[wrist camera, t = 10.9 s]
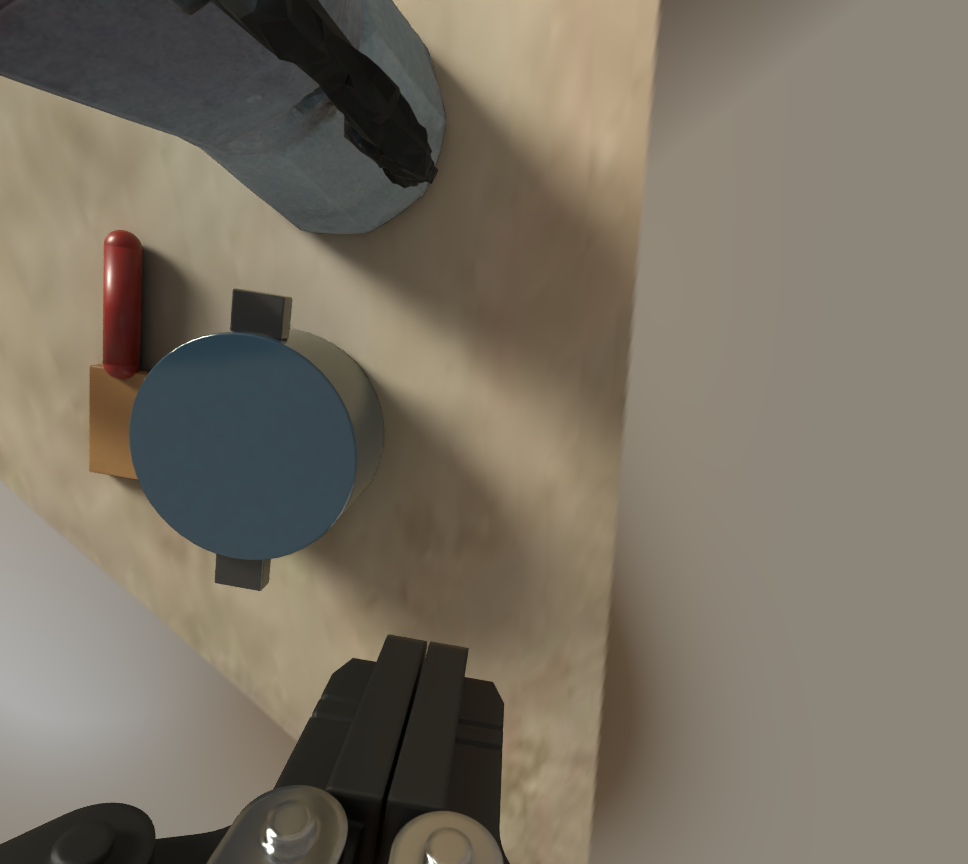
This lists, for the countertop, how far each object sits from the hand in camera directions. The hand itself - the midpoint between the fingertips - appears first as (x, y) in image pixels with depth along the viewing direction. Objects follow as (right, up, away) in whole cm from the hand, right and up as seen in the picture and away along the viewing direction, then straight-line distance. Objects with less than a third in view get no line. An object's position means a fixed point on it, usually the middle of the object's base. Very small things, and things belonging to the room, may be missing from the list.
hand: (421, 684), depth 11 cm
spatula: (-15, +8, +16) cm, 23 cm away
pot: (-8, +5, +16) cm, 18 cm away
